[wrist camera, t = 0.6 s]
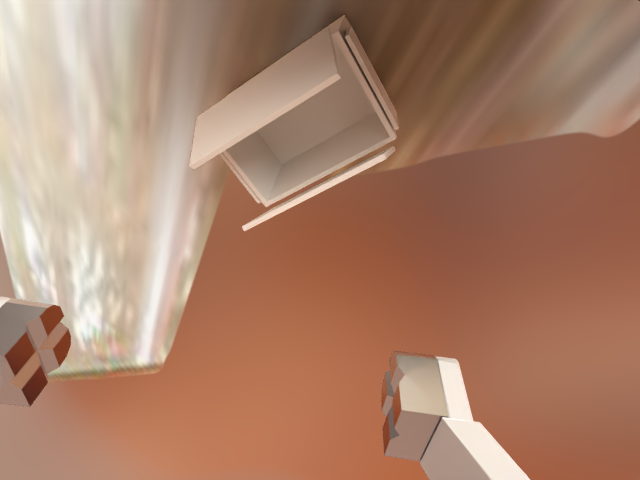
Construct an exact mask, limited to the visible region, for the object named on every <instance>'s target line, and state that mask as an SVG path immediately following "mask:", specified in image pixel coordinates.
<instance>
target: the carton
mask: <svg viewBox="0 0 640 480" xmlns="http://www.w3.org/2000/svg"><path fill="white" fill-rule="evenodd" d="M327 27H328V28H329V29H330V31H331V34H332V39H333V44H334V49H335V53H336V58H337V63H338V68H339V72H340V77H341V79H339V80H337V81H336V82H334V83H332V84H331V85H329V86H328V87H326V88H324V89H323V90H321V91H320V92H318V93H316V94H315V95H313V96H312V97H310V98H308V99H307V100H305V101H304V102H302V103H300V104H299V105H297V106H295V107H294V108H292V109H291V110H289V111H287V112H286V113H284V114H283V115H281V116H279V117H278V118H276V119H275V120H273V121H271V122H270V123H268V124H267V125H265V126H263V127H262V128H260V129H259V130H257V131H255V132H254V133H252V134H250V135H249V136H247V137H246V138H244V139H242V140H241V141H239V142H238V143H236V144H234V145H233V146H231V147H230V148H228V149H226V150H225V151H223V152H222V153H220V154H219V155H220V156H221V158H222V159H223V160H224V162H225V163H226V164H227V165H228V167H229V168H230V169H231V170H232V172H233V173H234V174H235V175H236V177H237V178H238V179H239V180H240V182H241V183H242V184H243V185H244V187H245V188H246V189H247V190H248V192H249V193H250V194H251V195H252V196H253V198H254V199H255V200H256V202H257V203H258V204H259V203H261V202H262V203H263V204H264V206H265V207H267V206H269V205H271V204H273V203H275V202H277V201H278V200H281V199H283V198H285V197H286V196H288V195H290V194H292V193H294V192H296V191H298V190H300V189H302V188H304V187H306V186H307V185H309V184H311V183H313V182H315V181H317V180H319V179H321V178H323V177H325V176H327V175H328V174H330V173H332V172H334V171H336V170H338V169H340V168H342V167H344V166H346V165H347V164H349V163H351V162H353V161H355V160H357V159H359V158H361V157H363V156H365V155H367V154H368V153H370V152H372V151H374V150H376V149H378V148H380V147H382V146H384V145H386V144H387V143H389V142H391V141H393V140H395V139H397V136H396V130H398V129H399V124H398V117H397V111H396V110H395V108H394V106H393V104H392V102H391V100H390V98H389V96H388V94H387V92H386V91H385V89H384V87H383V85H382V83H381V81H380V79H379V77H378V75H377V73H376V72H375V70H374V68H373V66H372V64H371V62H370V60H369V58H368V56H367V54H366V53H365V51H364V49H363V47H362V45H361V43H360V41H359V39H358V37H357V35H356V33H355V32H354V30H353V28H352V26H351V25H350V23H349V21H348V19H347V18H346V16H345V14H344V15H343V16H341V17H340V18H338V19H337V20H335V21H334V22H332V23H331V24H329V25H328V26H327ZM327 27H325V28H324V29H326V28H327ZM324 29H322V30H321V31H323V30H324ZM321 31H319V32H318V33H320V32H321ZM318 33H316V34H315V35H317V34H318ZM315 35H313V36H312V37H314V36H315ZM312 37H311V38H312ZM311 38H309V39H311ZM309 39H308V40H309ZM308 40H306V41H305V42H307V41H308ZM305 42H303V43H302V44H304V43H305ZM302 44H300V45H299V46H301V45H302ZM299 46H297V47H296V48H298V47H299ZM296 48H295V49H296ZM295 49H293V50H295ZM293 50H292V51H293ZM292 51H290V52H289V53H291V52H292ZM289 53H287V54H286V55H288V54H289ZM286 55H284V56H283V57H285V56H286ZM283 57H282V58H283ZM282 58H280V59H282ZM280 59H279V60H280ZM279 60H277V61H279ZM277 61H276V62H277ZM276 62H274V63H273V64H275V63H276ZM273 64H271V65H270V66H272V65H273ZM270 66H268V67H267V68H269V67H270ZM267 68H266V69H267ZM266 69H264V70H266ZM264 70H263V71H264ZM263 71H261V72H263ZM261 72H260V73H261ZM260 73H258V74H257V75H259V74H260ZM257 75H255V76H254V77H256V76H257ZM254 77H252V78H251V79H253V78H254ZM251 79H250V80H251ZM250 80H248V81H250ZM248 81H247V82H248ZM247 82H245V83H247ZM245 83H244V84H245ZM244 84H242V85H241V86H243V85H244ZM241 86H239V87H238V88H240V87H241ZM238 88H236V89H235V90H237V89H238ZM235 90H234V91H235ZM234 91H232V92H234ZM232 92H231V93H232ZM231 93H229V94H231ZM229 94H228V95H229ZM228 95H227V96H228ZM227 96H226V97H227Z"/></svg>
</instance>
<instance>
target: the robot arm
mask: <svg viewBox="0 0 640 480" xmlns="http://www.w3.org/2000/svg"><path fill="white" fill-rule="evenodd" d="M63 317H64V315H63V313H62V310H61V308H60V306H56V305H51V304H45V303H39V302H33V301H27V300H21V299H15V298H14V299H13V298H7V297H0V404H8V405H17V406H27V407H30V406H31V405H32V404H33V402H34V401H35V400H36V398H37V397H38V395H39V394H40V393H41V391H42V390H43V389H44V387H45V386H46V385H47V383H48V375H47V374H48V373H50V372H51V371H53V370H55V369H57V368H58V367H60V365H61V364H62V362H63V361H64V360H65V358H66V357H67V354H68V351H69V348H70V345H71V335H70V332H69V329H68V328H67V327H66V326H64V325H63V324H62V323H61V322H60V321H61V320H62V318H63ZM381 402H382V412H383V413H384V415H385V416H386V420H385V423H384V426H383V443H384V455H385V456H391V457H396V458H402V459H409V460H414V461H421V462H420V464H421V466H422V468H423V470H424V471H425V473H426V475H427V476H428V478H429V480H530V479H529V478H528V477H527V475H526V474H525V473H524V472H523V471H522V470H521V469H520V467H519V466H518V465H517V464H516V463H515V462H514V461H513V460H512V458H511V457H510V456H509V455H508V454H507V453H506V451H505V450H504V449H503V448H502V447H501V446H500V445H499V443H498V442H497V441H496V440H495V439H494V438H493V437H492V436H491V434H490V433H489V432H488V431H487V430H486V429H485V428H484V426H483V425H482V424H481V423H480V422H475V421H473V417H472V414H471V409H470V405H469V401H468V398H467V393H466V389H465V386H464V382H463V378H462V374H461V370H460V366H459V362H458V361H457V360H456V359H453V358H445V357H438V356H432V355H425V354H417V353H408V352H401V351H393V353H392V354H391V357H390V370H389V371H387V372H386V374H385V377H384V380H383V387H382V400H381Z"/></svg>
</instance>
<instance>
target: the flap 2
mask: <svg viewBox="0 0 640 480" xmlns="http://www.w3.org/2000/svg"><path fill="white" fill-rule="evenodd" d="M395 150H396V149H395V147H394V145H393V146H391V147H389V148H387V149H385V150H384V151H382V152H380V153H378V154H376V155H374V156H372V157H370V158H368V159H366V160H364V161H362V162H360V163H359V164H357V165H355V166H353V167H351V168H349V169H347V170H345V171H343V172H341V173H339V174H337V175H335V176H334V177H332V178H330V179H328V180H326V181H324V182H322V183H320V184H318V185H316V186H314V187H312V188H311V189H309V190H307V191H305V192H303V193H301V194H299V195H297V196H295V197H293V198H291V199H289V200H287V201H285V202H284V203H282V204H280V205H278V206H276V207H274V208H272V209H271V210H269V211H267V212H265V213H264V214H262V215H260V216H259V217H257V218H256V219H254V220H252V221H250V222H249V223H247V224H246V225H244V226H242V228H243V230H244V231H246V230H248V229H250V228H252V227H254V226H256V225H258V224H260V223H261V222H264V221H266V220H268V219H270V218H271V217H273V216H275V215H277V214H279V213H281V212H283V211H285V210H287V209H289V208H291V207H293V206H295V205H297V204H299V203H301V202H303V201H305V200H307V199H309V198H311V197H313V196H315V195H317V194H319V193H320V192H322V191H324V190H326V189H328V188H330V187H332V186H334V185H336V184H338V183H340V182H342V181H344V180H346V179H348V178H350V177H352V176H354V175H356V174H358V173H360V172H362V171H364V170H366V169H368V168H370V167H372V166H374V165H375V164H377V163H379V162H381V161H383V160H385V159H387V158H388V157H389V156H390V155H391V154H392V153H393V152H394V151H395Z"/></svg>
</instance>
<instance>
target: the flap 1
mask: <svg viewBox="0 0 640 480" xmlns="http://www.w3.org/2000/svg"><path fill="white" fill-rule="evenodd" d="M339 79H341V77H340V72H339V68H338V63H337V58H336V53H335V49H334V44H333V39H332V34H331V31H330V29H329V28H328V27H327V28H326V29H324V30H323V31H321V32H320V33H318V34H317V35H315V36H314V37H312V38H311V39H309V40H308V41H307V42H305V43H304V44H302V45H301V46H299V47H298V48H296V49H295V50H293V51H292V52H291V53H289V54H288V55H286V56H285V57H283V58H282V59H280V60H279V61H277V62H276V63H275V64H273V65H272V66H270V67H269V68H267V69H266V70H264V71H263V72H261V73H260V74H259V75H257V76H256V77H254V78H253V79H251V80H250V81H248V82H247V83H245V84H244V85H243V86H241V87H240V88H238V89H237V90H235V91H234V92H232V93H231V94H229V95H228V96H227V97H225V98H224V99H222V100H221V101H219V102H218V103H216V104H215V105H213V106H212V107H210V108H209V109H208V110H206V111H205V112H203V113H202V114H200V115H199V116H197V118H196V125H195V132H194V138H193V145H192V151H191V158H190V165H189V167H190V168H192V169H193V170H194V169H196V168H197V167H199V166H201V165H202V164H204V163H205V162H207V161H209V160H210V159H212V158H213V157H215V156H217V155H218V154H220V153H222V152H223V151H225V150H226V149H228V148H230V147H231V146H233V145H234V144H236V143H238V142H239V141H241V140H242V139H244V138H246V137H247V136H249V135H250V134H252V133H254V132H255V131H257V130H259V129H260V128H262V127H263V126H265V125H267V124H268V123H270V122H271V121H273V120H275V119H276V118H278V117H279V116H281V115H283V114H284V113H286V112H287V111H289V110H291V109H292V108H294V107H295V106H297V105H299V104H300V103H302V102H304V101H305V100H307V99H308V98H310V97H312V96H313V95H315V94H316V93H318V92H320V91H321V90H323V89H324V88H326V87H328V86H329V85H331V84H332V83H334V82H336V81H337V80H339Z"/></svg>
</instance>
